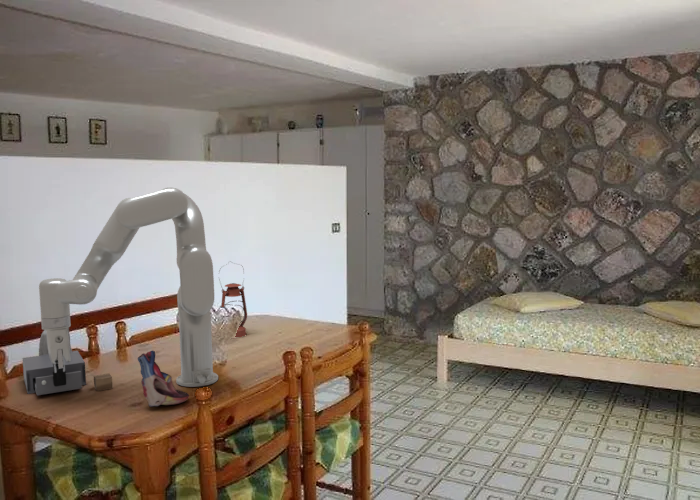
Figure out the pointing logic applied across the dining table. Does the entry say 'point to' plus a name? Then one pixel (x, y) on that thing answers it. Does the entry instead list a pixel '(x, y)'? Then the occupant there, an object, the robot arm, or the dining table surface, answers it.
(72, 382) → the grey drawer
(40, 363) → the box
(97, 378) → the tan cube
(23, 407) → the dining table surface
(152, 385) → the anatomical model
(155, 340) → the dining table surface
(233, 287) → the lantern
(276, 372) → the dining table surface
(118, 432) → the dining table surface
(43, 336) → the decorative stone
